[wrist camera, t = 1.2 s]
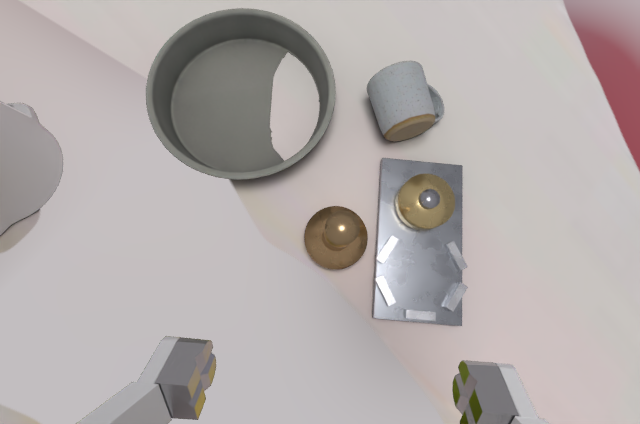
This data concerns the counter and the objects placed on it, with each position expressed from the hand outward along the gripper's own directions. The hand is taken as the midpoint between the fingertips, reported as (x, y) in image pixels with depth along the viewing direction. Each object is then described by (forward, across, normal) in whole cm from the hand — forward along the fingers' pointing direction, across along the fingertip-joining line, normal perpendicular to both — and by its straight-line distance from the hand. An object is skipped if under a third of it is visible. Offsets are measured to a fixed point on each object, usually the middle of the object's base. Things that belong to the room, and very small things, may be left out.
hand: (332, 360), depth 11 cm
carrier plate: (+30, -11, +16) cm, 36 cm away
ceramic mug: (+43, -8, +2) cm, 44 cm away
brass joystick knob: (+29, 0, +16) cm, 33 cm away
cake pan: (+41, +14, +2) cm, 44 cm away
